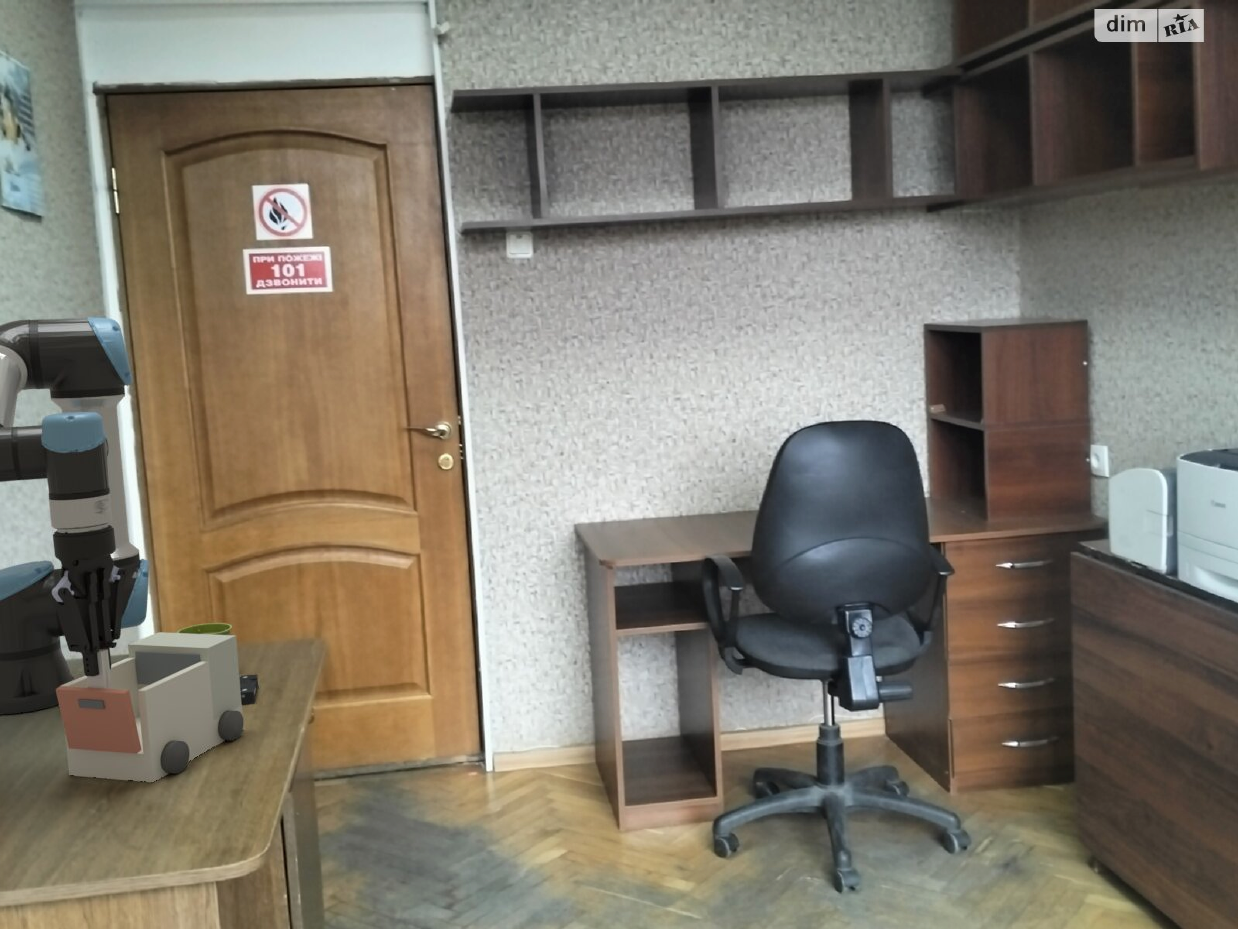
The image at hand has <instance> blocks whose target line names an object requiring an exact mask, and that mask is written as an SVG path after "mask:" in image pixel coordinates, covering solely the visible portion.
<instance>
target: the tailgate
mask: <svg viewBox="0 0 1238 929" xmlns="http://www.w3.org/2000/svg"><path fill="white" fill-rule="evenodd" d="M56 694H57V698H58V702H59V704H58V706H59V711H60V715H61V719H62V724H63V729H64V734H65V733H66V738H67V742H68V746H69V748H70V749H82V750H95V751H108V752H121V753H134V754H137V753H138V752H140V751H141V745H140V740H139V735H138V731H137V726H136V721H135V716H134V711H133V707H132V702H131V697H130V692H129V690H118V689H101V688H84V687H67V686H60V687H59V688H57V689H56Z"/></svg>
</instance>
